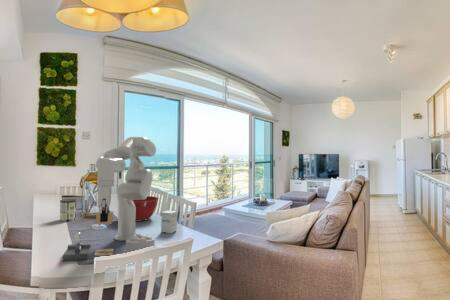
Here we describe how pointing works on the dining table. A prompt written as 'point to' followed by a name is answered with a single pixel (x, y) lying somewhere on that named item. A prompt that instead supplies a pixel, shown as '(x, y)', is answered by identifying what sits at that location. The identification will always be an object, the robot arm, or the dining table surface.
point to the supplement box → (169, 221)
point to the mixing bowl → (145, 207)
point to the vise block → (77, 250)
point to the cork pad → (103, 252)
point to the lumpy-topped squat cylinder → (139, 242)
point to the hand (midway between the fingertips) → (104, 219)
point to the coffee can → (67, 209)
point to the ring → (110, 218)
